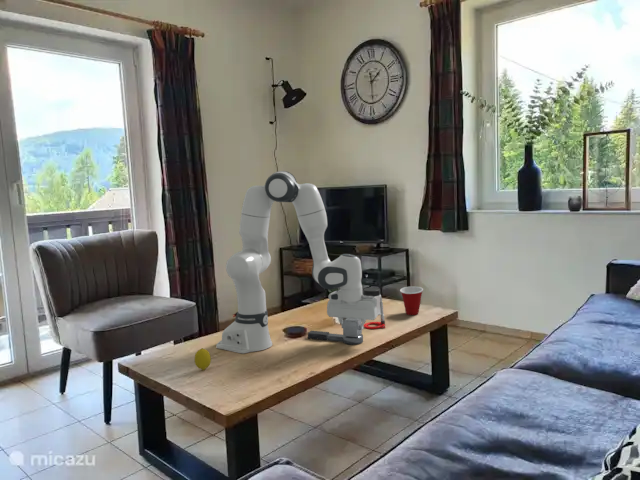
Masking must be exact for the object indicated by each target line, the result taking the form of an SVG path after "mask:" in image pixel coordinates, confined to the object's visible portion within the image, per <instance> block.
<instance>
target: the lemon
mask: <svg viewBox="0 0 640 480" xmlns="http://www.w3.org/2000/svg"><path fill="white" fill-rule="evenodd" d="M211 359H212V357H211V353H210V352H209V351H208V350H207V349H205V348H200V349H198V350H197V351H196V352H195V355H194V364H195V367H197V368H198V369H199V370H202V371H205V370H206V369H208V368H209V367H210V365H211V361H212V360H211Z"/></svg>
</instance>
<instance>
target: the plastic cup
mask: <svg viewBox="0 0 640 480" xmlns="http://www.w3.org/2000/svg"><path fill="white" fill-rule="evenodd" d="M399 291H400V293H401V296H402V301H403V305H404V311H405V314H406V315H408V316H417V315H419V313H420V307H421V302H422V301H421V300H422V294H423V291H424V288H423V287H421V286H405V287H402V288H400V289H399Z"/></svg>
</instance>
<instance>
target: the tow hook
mask: <svg viewBox="0 0 640 480" xmlns="http://www.w3.org/2000/svg"><path fill="white" fill-rule="evenodd" d="M383 304H384V302H383V297H382V296H381V297H380V310H381V314H380V321H369V322H365V323H364V325H363V327H364V328H363V329H367V330H376V329H385V328H386V321H385V313H384V305H383ZM370 325H372V326H370ZM373 325H375V326H373Z"/></svg>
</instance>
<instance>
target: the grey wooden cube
mask: <svg viewBox="0 0 640 480" xmlns="http://www.w3.org/2000/svg"><path fill="white" fill-rule="evenodd" d="M360 324H362V322H361V319H353V318H344V319H343V328H342V335H343V336H349V337H358V336H359V335H360V334H363V330H359V325H360Z"/></svg>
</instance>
